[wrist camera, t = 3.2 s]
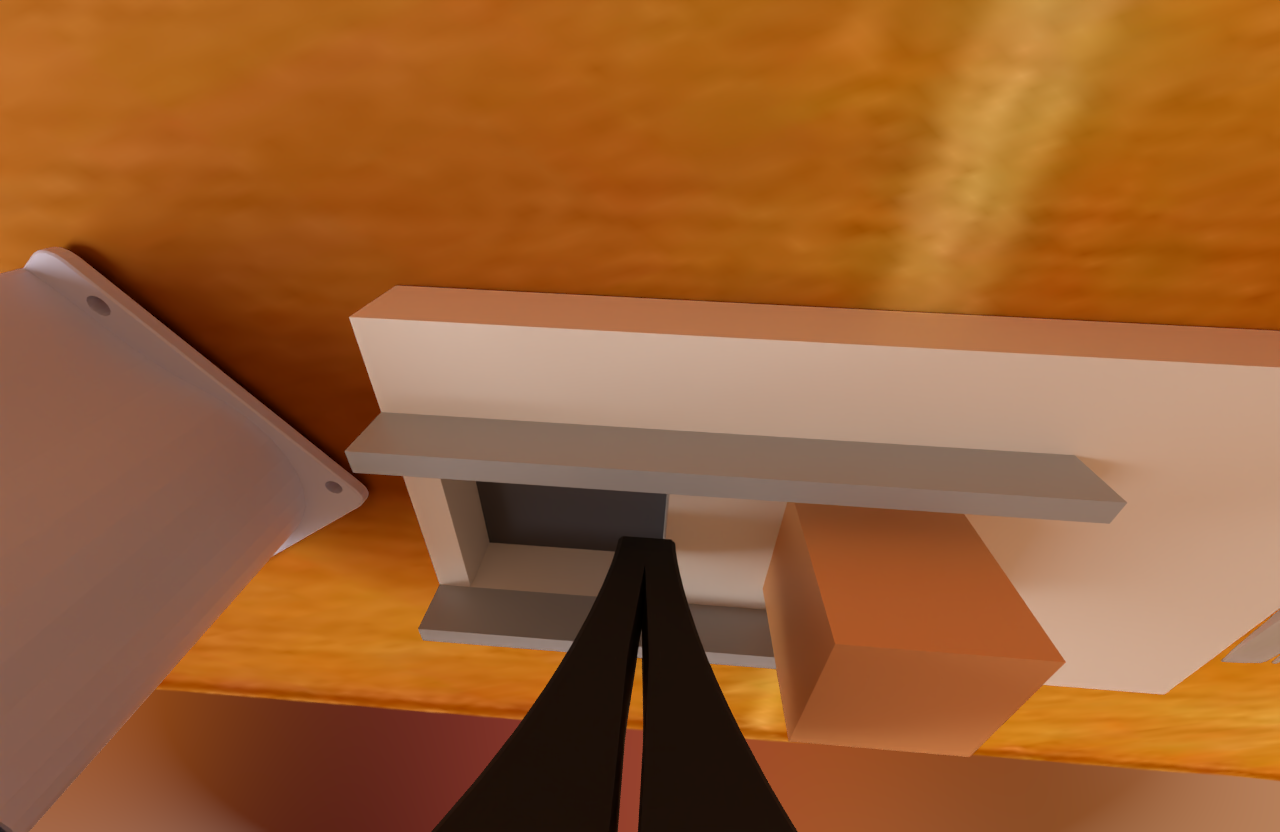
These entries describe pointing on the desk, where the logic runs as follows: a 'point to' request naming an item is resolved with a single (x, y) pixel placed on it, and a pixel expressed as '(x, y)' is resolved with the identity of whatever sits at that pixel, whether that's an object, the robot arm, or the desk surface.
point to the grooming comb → (1259, 644)
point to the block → (897, 631)
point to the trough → (829, 460)
